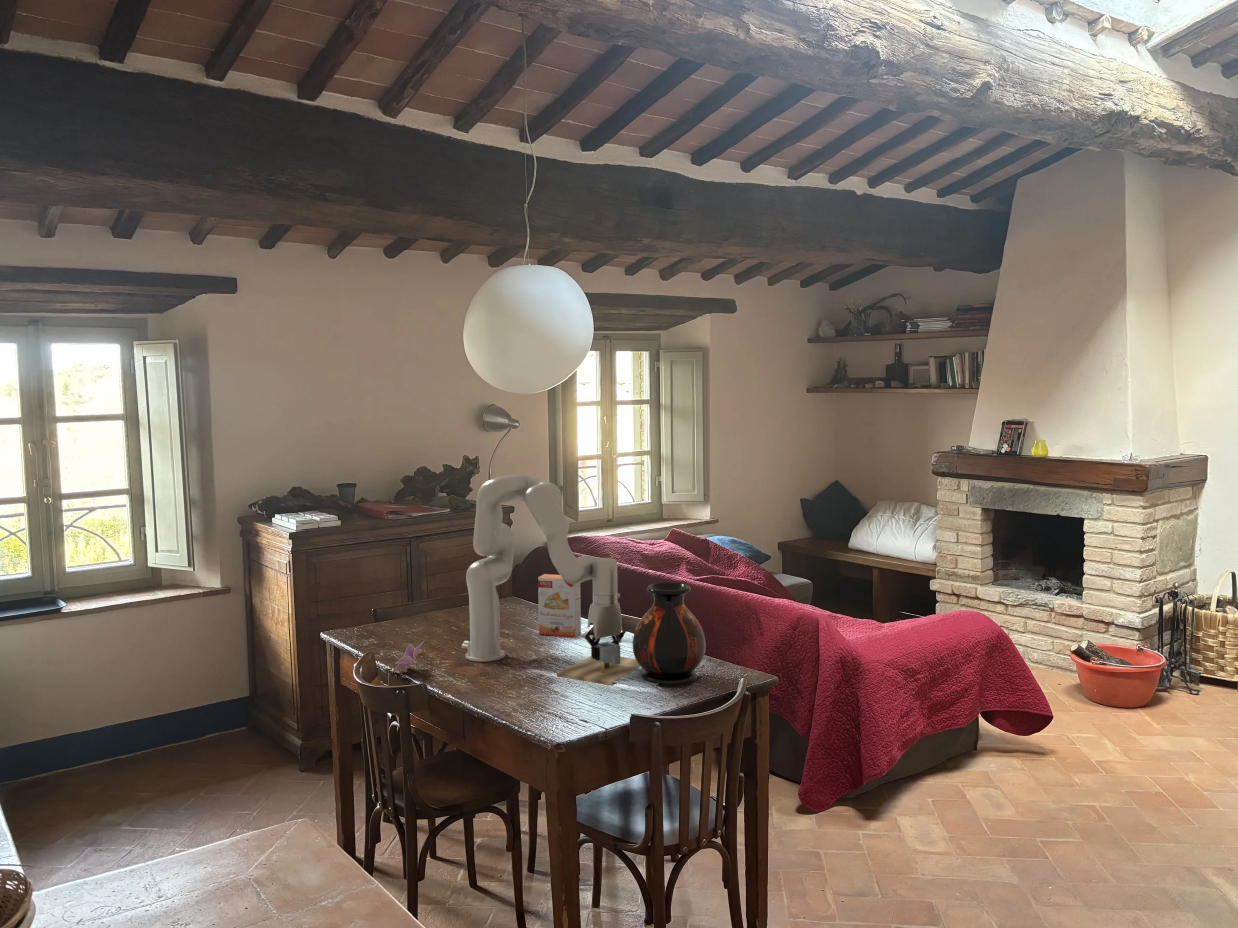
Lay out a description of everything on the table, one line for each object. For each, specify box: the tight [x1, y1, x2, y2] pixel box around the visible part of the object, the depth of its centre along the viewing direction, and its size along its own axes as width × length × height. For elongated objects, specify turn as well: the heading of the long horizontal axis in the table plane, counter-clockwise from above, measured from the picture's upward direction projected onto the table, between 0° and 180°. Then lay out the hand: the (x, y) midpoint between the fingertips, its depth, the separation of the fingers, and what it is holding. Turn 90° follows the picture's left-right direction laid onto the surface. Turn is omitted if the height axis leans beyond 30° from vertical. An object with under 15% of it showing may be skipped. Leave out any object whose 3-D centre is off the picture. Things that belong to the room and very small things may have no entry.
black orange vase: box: [632, 582, 707, 688], centre depth 273 cm, size 22×22×28 cm
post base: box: [556, 655, 641, 687], centre depth 284 cm, size 19×24×6 cm
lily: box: [392, 641, 425, 674], centre depth 283 cm, size 12×12×10 cm
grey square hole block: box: [590, 640, 621, 665], centre depth 282 cm, size 9×6×4 cm
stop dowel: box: [601, 660, 605, 673], centre depth 278 cm, size 1×1×4 cm
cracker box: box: [537, 573, 582, 638], centre depth 326 cm, size 14×6×21 cm, turn 72°
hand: (605, 656), depth 283 cm, fingers closed on grey square hole block, 6 cm apart
